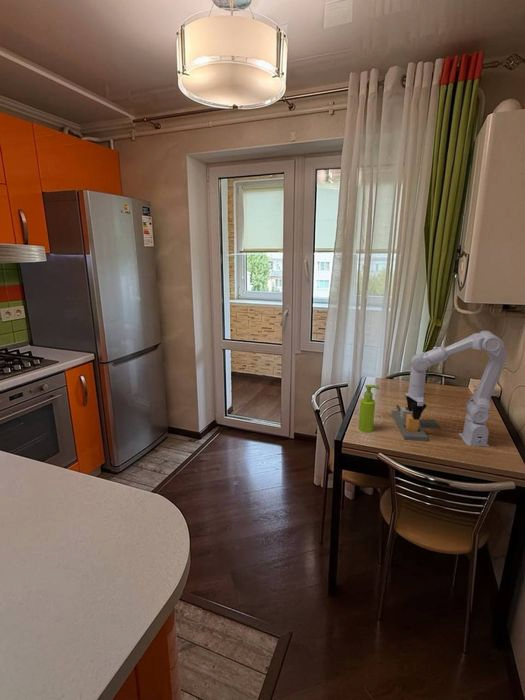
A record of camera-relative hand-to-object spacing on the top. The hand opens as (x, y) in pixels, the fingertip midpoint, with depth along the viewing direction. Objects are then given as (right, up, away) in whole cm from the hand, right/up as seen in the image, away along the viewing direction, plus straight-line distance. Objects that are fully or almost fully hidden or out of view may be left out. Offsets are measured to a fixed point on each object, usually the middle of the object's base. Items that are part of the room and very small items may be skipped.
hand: (413, 415), depth 153 cm
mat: (+10, -6, +10) cm, 15 cm away
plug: (0, -7, +2) cm, 8 cm away
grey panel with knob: (+1, -5, +11) cm, 12 cm away
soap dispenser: (-18, -7, +5) cm, 20 cm away
